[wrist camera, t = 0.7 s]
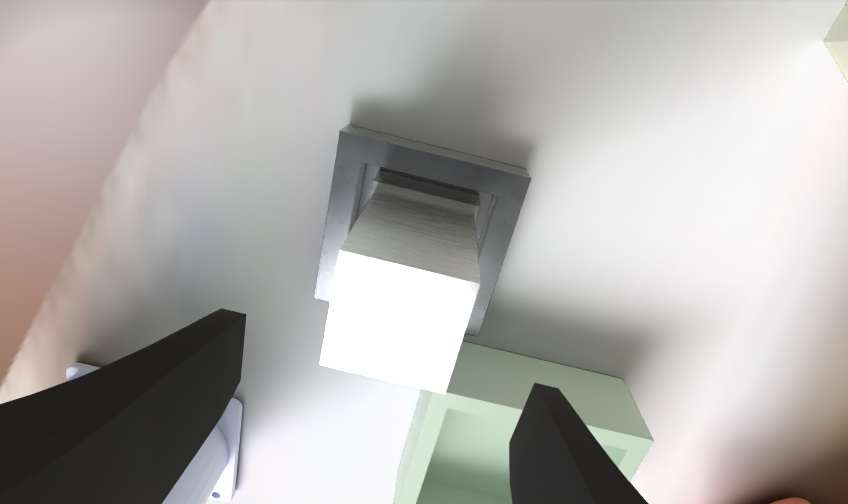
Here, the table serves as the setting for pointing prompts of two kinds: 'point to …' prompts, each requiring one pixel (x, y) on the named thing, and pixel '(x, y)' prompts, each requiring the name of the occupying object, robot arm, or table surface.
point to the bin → (504, 425)
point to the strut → (405, 284)
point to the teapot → (792, 501)
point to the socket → (431, 164)
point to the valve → (839, 41)
